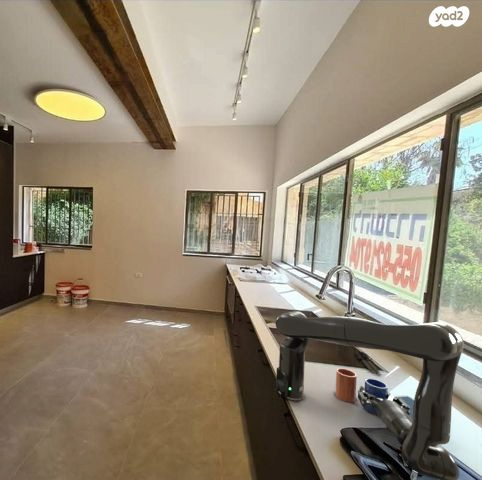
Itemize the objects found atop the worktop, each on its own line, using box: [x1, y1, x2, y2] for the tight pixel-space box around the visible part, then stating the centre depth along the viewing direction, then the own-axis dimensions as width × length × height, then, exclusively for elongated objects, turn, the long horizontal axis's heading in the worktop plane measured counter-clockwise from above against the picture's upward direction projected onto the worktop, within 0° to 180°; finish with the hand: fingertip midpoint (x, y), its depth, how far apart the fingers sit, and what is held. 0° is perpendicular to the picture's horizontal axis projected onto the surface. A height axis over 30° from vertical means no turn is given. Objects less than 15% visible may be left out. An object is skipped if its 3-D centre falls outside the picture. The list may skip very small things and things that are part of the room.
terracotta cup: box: [334, 367, 358, 403], centre depth 107 cm, size 7×7×10 cm
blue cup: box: [363, 377, 389, 416], centre depth 100 cm, size 7×7×10 cm
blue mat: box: [394, 396, 414, 420], centre depth 101 cm, size 13×13×1 cm
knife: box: [354, 350, 381, 375], centre depth 136 cm, size 25×6×1 cm, turn 154°
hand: (372, 390), depth 102 cm, fingers closed on blue cup, 6 cm apart
